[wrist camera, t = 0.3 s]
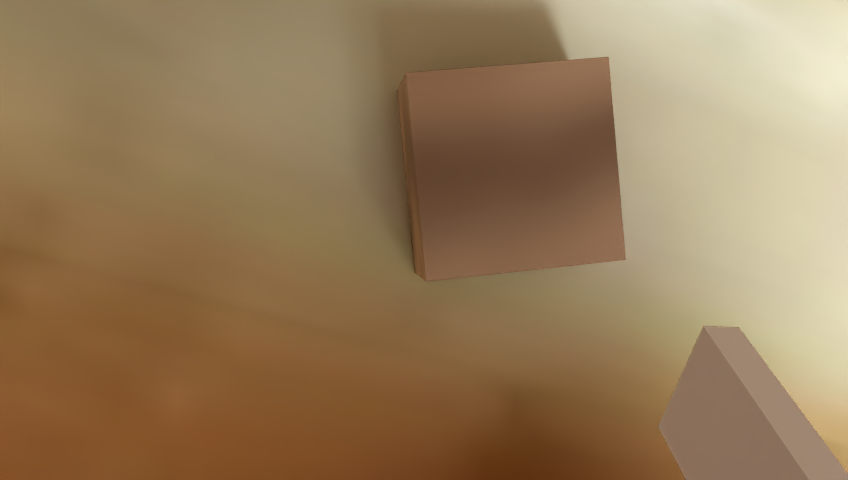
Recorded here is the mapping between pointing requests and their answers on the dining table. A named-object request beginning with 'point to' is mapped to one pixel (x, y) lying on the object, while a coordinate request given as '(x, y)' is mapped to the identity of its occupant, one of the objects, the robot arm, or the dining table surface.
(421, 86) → the walnut block
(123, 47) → the dining table surface
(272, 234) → the dining table surface
